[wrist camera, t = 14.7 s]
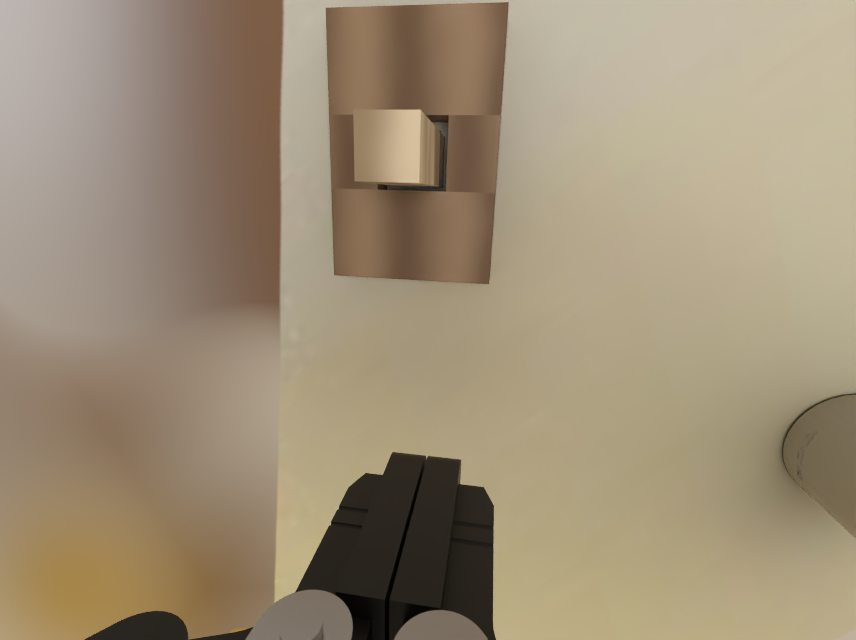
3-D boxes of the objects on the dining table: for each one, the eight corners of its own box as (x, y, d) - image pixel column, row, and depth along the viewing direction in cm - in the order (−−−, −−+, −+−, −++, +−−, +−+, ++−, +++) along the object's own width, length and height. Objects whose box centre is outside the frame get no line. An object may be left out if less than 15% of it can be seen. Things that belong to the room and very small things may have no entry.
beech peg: (445, 136, 33) (421, 108, 22) (443, 187, 34) (420, 184, 23) (397, 136, 33) (352, 108, 23) (397, 186, 34) (353, 182, 24)
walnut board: (507, 20, 30) (508, 2, 27) (489, 277, 35) (489, 284, 32) (341, 24, 32) (325, 7, 29) (346, 269, 37) (334, 275, 34)
